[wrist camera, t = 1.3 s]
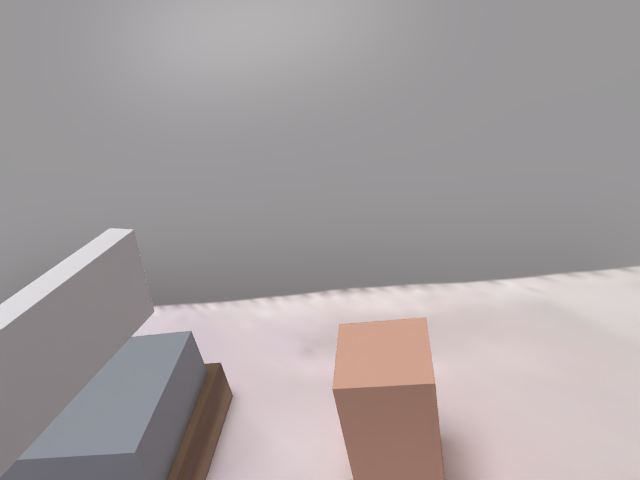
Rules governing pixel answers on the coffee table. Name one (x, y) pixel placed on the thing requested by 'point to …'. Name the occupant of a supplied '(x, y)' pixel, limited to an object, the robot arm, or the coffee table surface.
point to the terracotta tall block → (388, 400)
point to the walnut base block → (203, 427)
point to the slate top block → (122, 416)
